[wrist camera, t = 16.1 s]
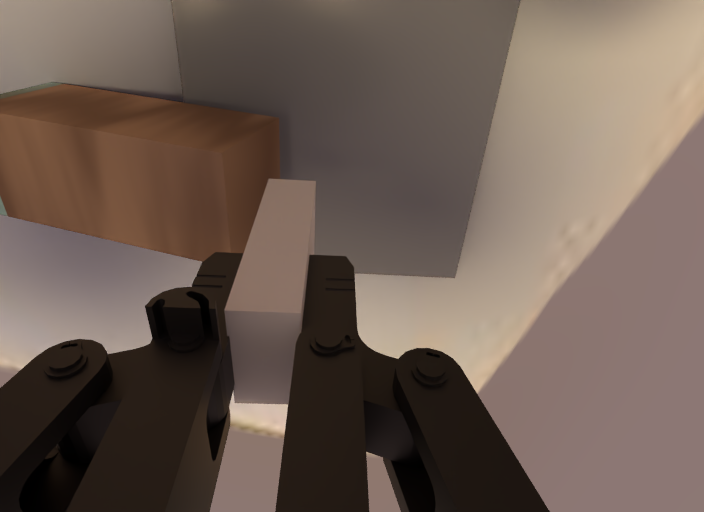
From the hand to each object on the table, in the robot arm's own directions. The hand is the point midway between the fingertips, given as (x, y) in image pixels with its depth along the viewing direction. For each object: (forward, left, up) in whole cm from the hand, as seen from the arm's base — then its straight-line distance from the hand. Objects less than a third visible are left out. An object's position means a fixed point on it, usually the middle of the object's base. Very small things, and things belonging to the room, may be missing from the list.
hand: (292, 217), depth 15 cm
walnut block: (-2, 0, -3) cm, 3 cm away
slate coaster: (+1, 0, -8) cm, 8 cm away
